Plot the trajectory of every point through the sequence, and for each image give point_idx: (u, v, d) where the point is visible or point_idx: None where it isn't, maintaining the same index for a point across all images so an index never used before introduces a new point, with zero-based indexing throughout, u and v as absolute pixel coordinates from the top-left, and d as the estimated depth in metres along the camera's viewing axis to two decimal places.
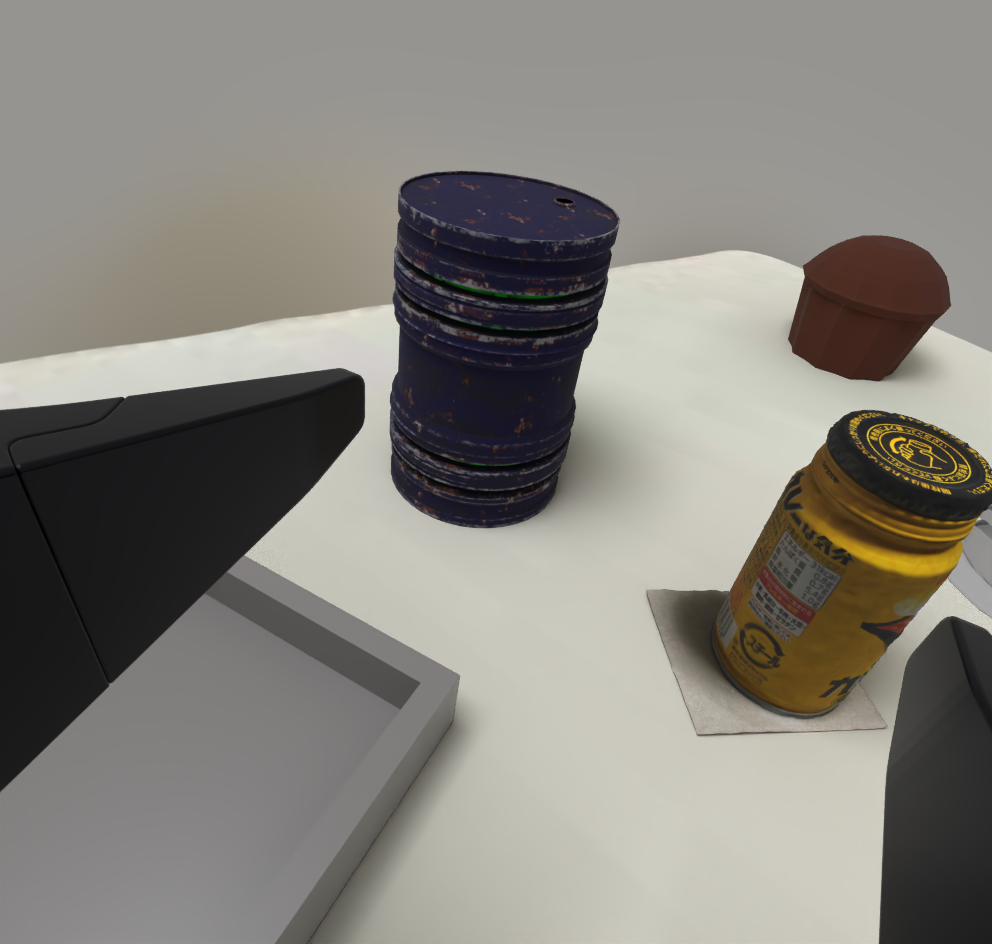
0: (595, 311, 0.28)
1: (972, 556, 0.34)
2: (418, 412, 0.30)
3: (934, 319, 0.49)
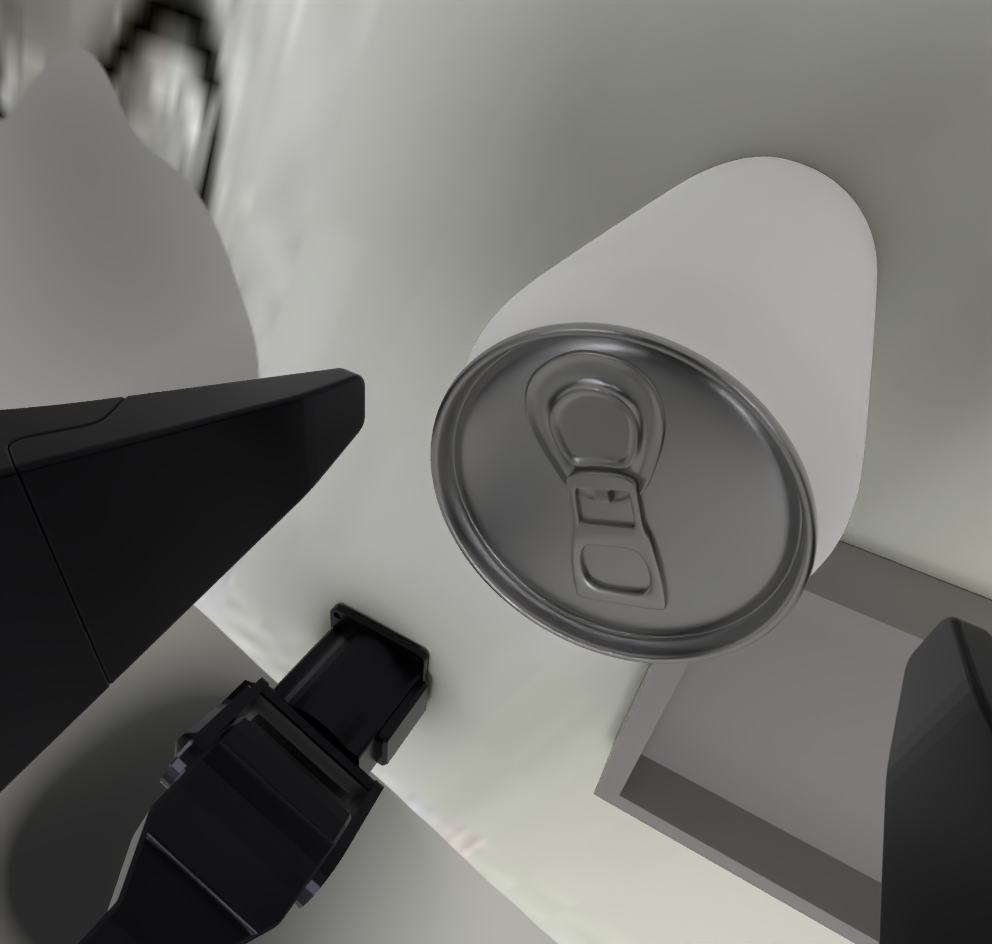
0: None
1: None
2: None
3: None
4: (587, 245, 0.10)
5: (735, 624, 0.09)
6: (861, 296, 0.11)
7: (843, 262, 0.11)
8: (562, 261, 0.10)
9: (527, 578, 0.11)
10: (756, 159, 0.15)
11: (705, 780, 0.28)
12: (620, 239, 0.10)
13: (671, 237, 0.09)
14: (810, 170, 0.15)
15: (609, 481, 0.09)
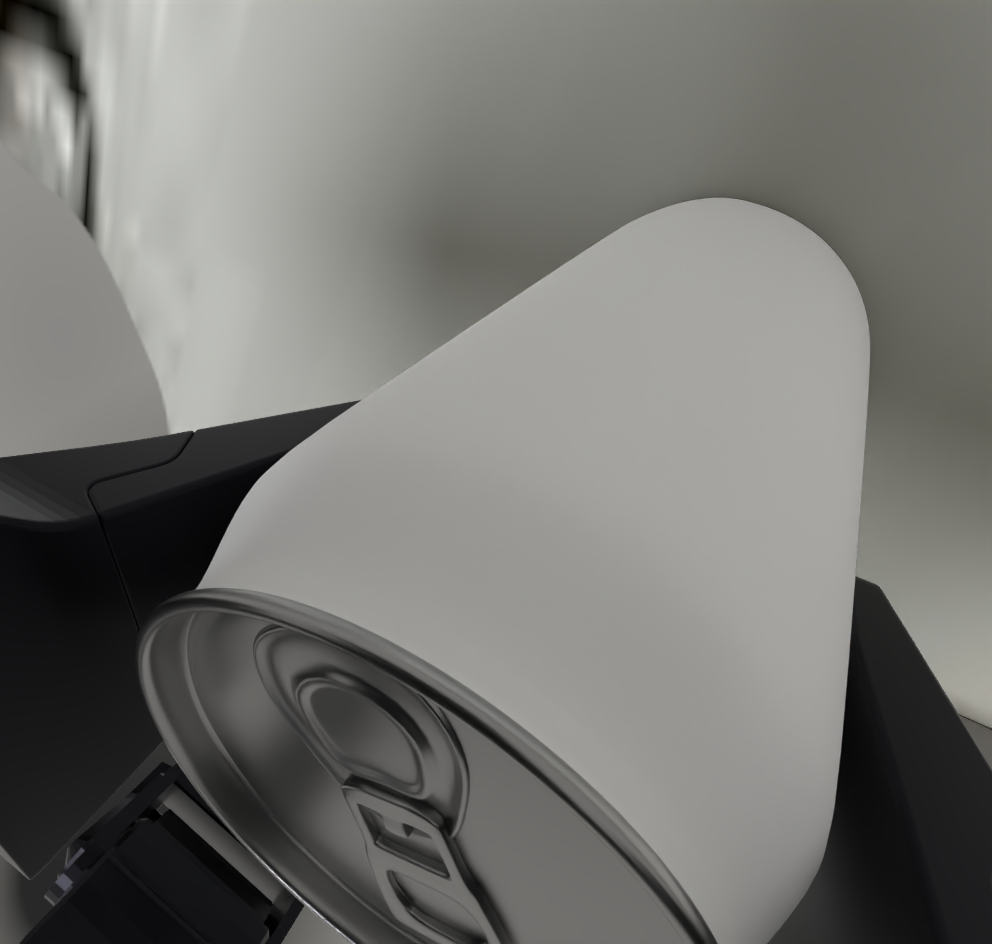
0: None
1: None
2: None
3: None
4: (416, 366, 0.07)
5: None
6: (843, 431, 0.07)
7: (815, 382, 0.07)
8: (362, 401, 0.06)
9: (331, 869, 0.07)
10: (710, 203, 0.11)
11: None
12: (443, 374, 0.06)
13: (517, 381, 0.05)
14: (781, 218, 0.11)
15: (405, 802, 0.05)
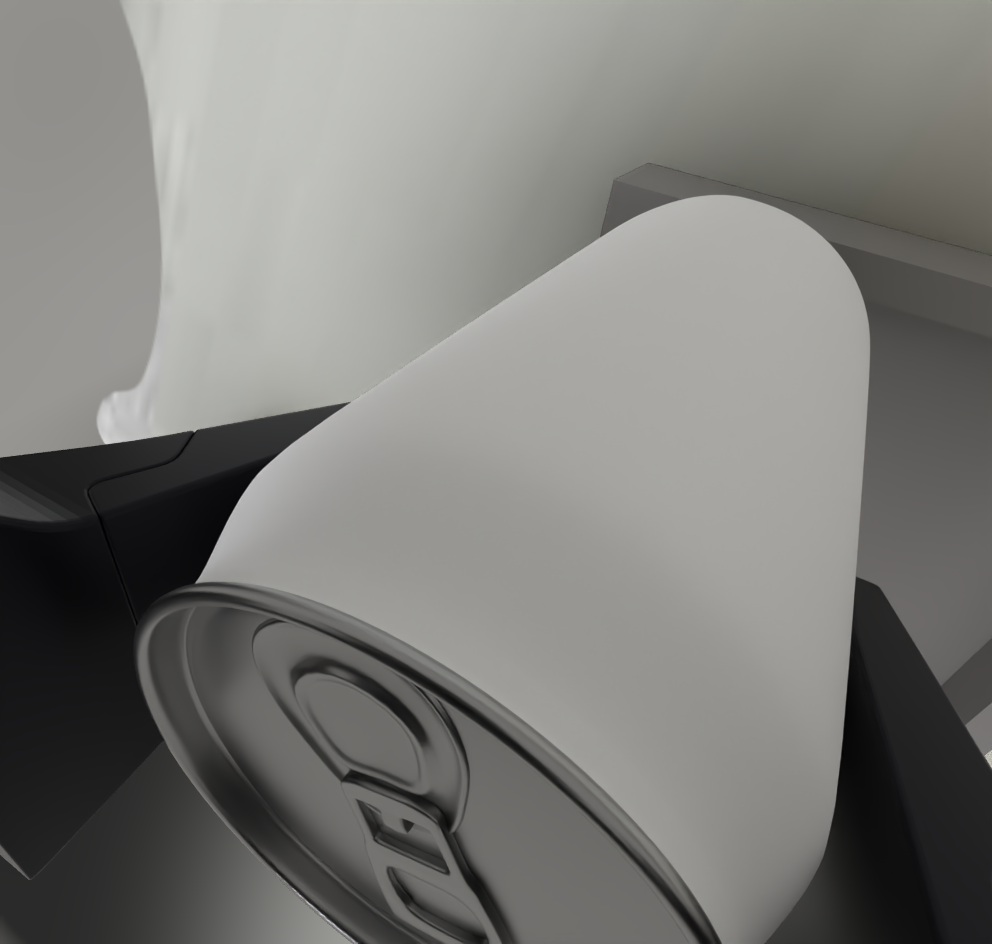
0: None
1: None
2: None
3: None
4: (415, 361, 0.07)
5: None
6: (843, 427, 0.07)
7: (816, 378, 0.07)
8: (361, 396, 0.06)
9: (331, 866, 0.07)
10: (710, 200, 0.11)
11: None
12: (443, 369, 0.06)
13: (517, 375, 0.05)
14: (781, 215, 0.11)
15: (403, 799, 0.05)
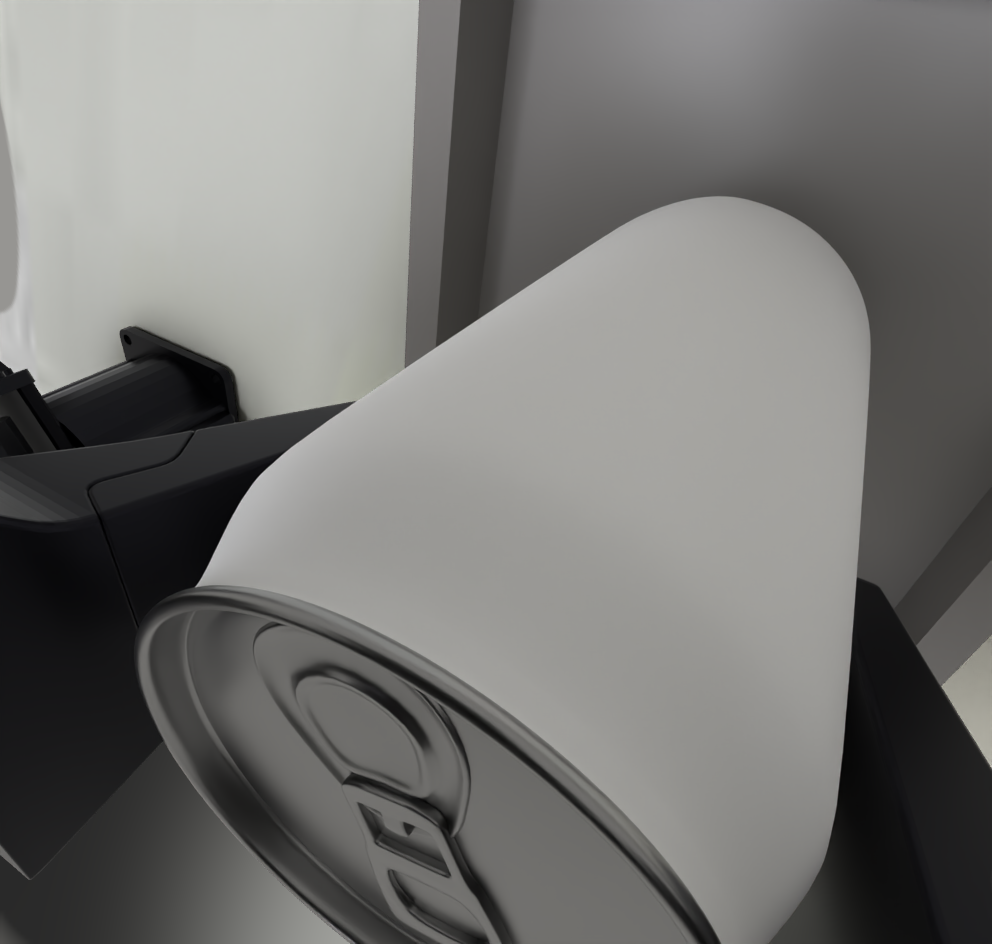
0: None
1: None
2: None
3: None
4: (416, 363, 0.07)
5: None
6: (844, 429, 0.07)
7: (816, 380, 0.07)
8: (362, 398, 0.06)
9: (331, 868, 0.07)
10: (710, 201, 0.11)
11: None
12: (444, 372, 0.06)
13: (517, 378, 0.05)
14: (781, 217, 0.11)
15: (406, 801, 0.05)
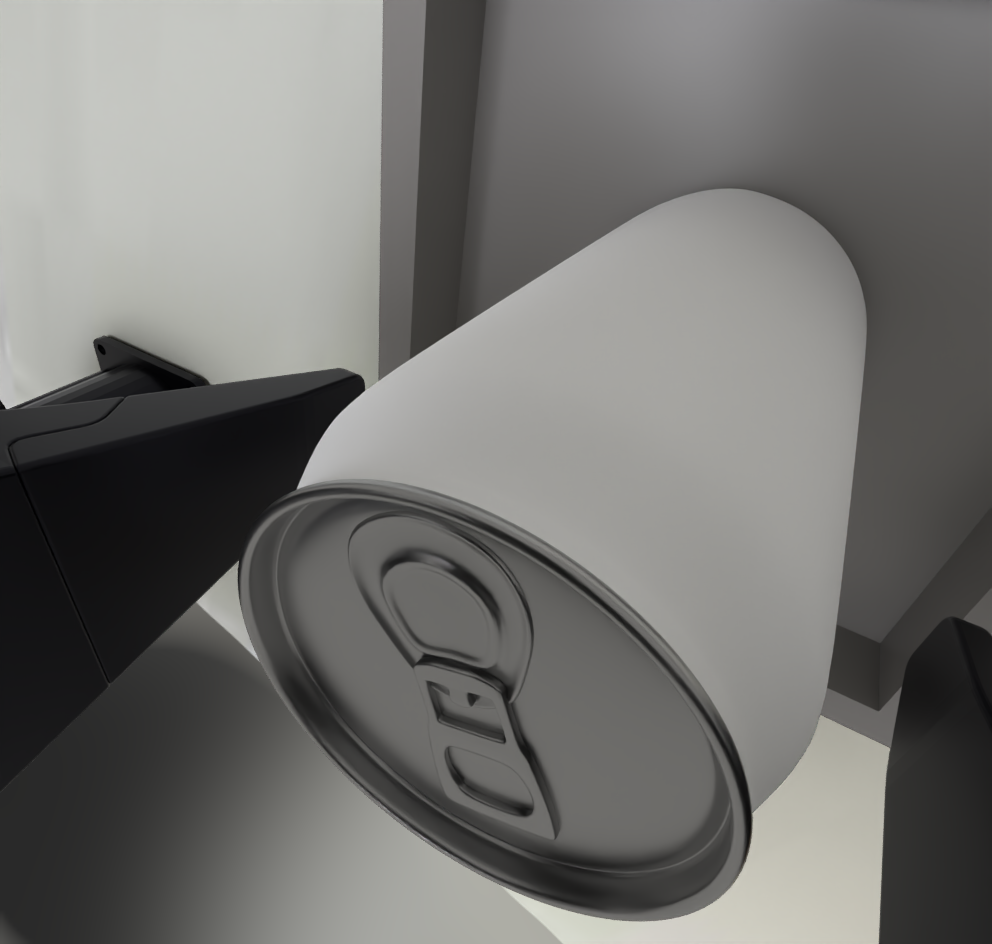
0: None
1: None
2: None
3: None
4: (472, 321, 0.08)
5: (648, 872, 0.07)
6: (840, 390, 0.08)
7: (817, 345, 0.08)
8: (429, 348, 0.07)
9: (388, 761, 0.08)
10: (723, 193, 0.12)
11: None
12: (502, 324, 0.07)
13: (568, 327, 0.06)
14: (787, 208, 0.12)
15: (470, 677, 0.06)
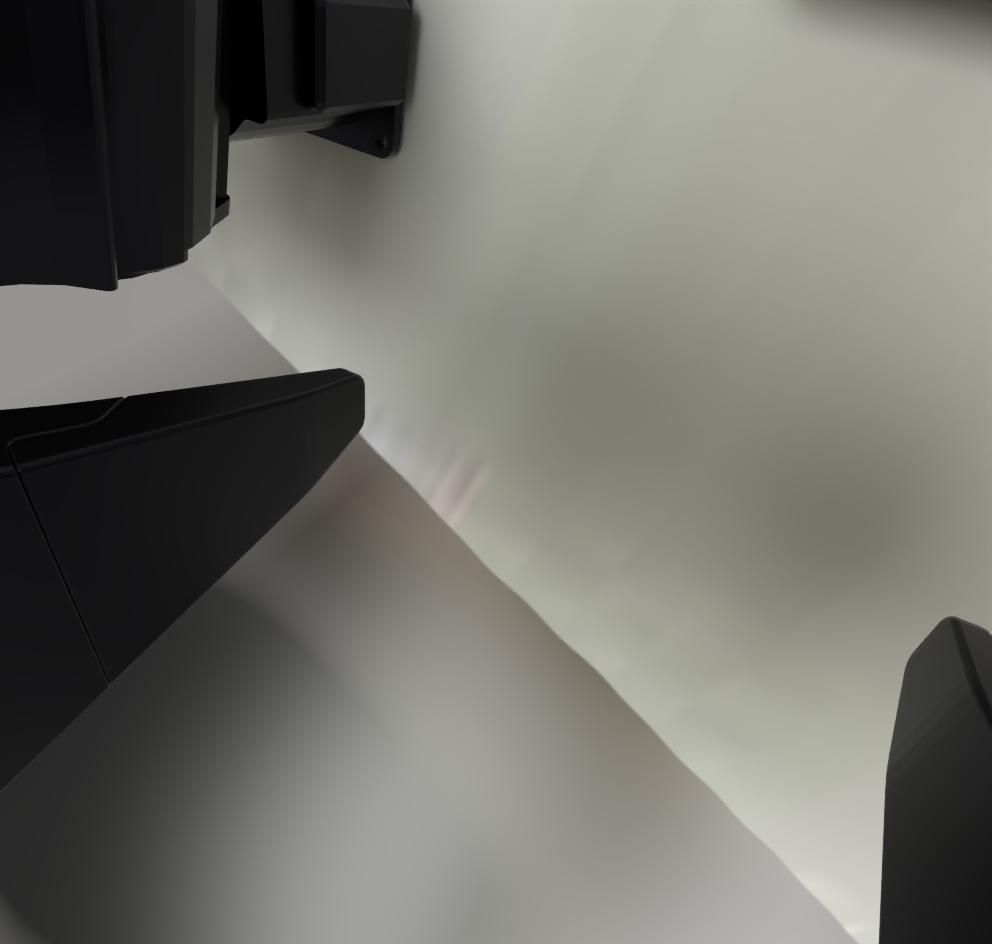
0: None
1: None
2: None
3: None
4: None
5: None
6: None
7: None
8: None
9: None
10: None
11: None
12: None
13: None
14: None
15: None
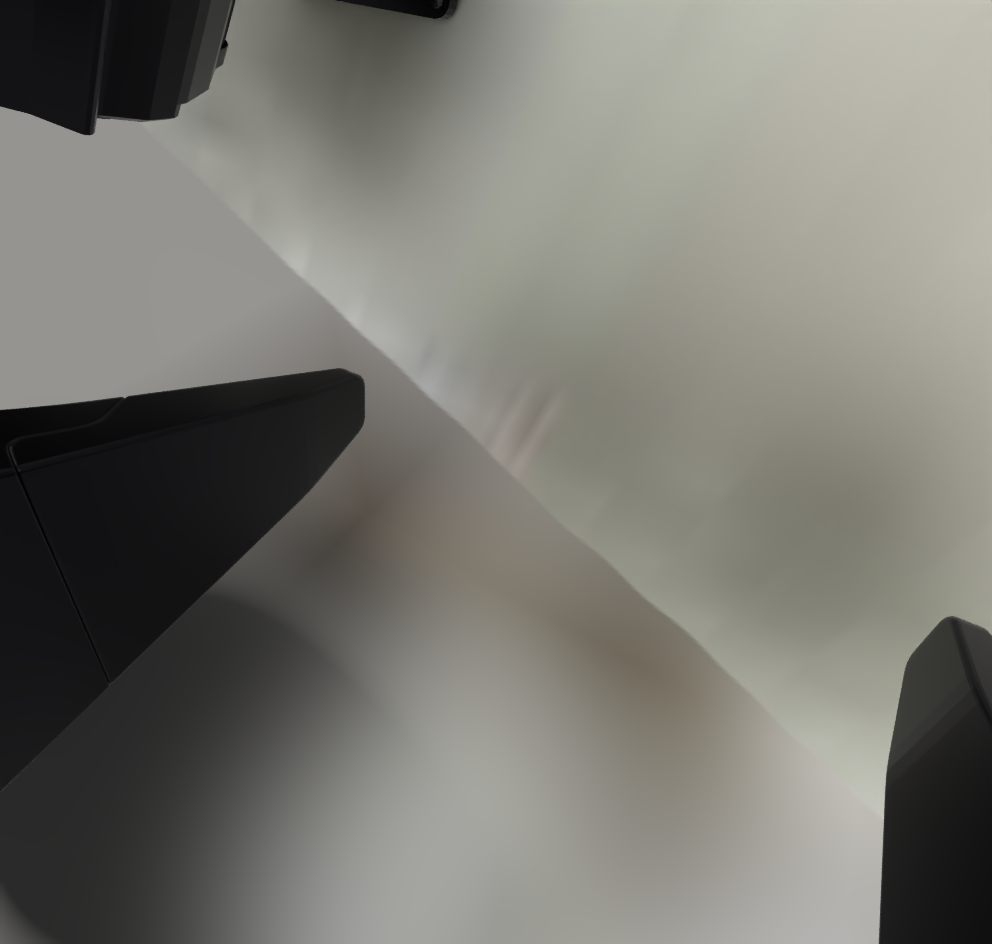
0: None
1: None
2: None
3: None
4: None
5: None
6: None
7: None
8: None
9: None
10: None
11: None
12: None
13: None
14: None
15: None
